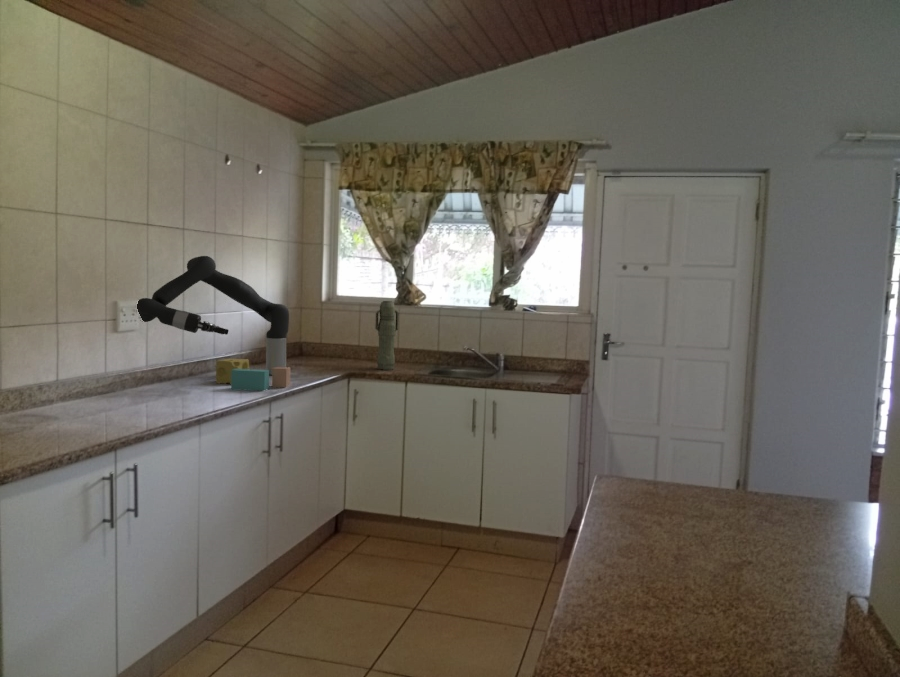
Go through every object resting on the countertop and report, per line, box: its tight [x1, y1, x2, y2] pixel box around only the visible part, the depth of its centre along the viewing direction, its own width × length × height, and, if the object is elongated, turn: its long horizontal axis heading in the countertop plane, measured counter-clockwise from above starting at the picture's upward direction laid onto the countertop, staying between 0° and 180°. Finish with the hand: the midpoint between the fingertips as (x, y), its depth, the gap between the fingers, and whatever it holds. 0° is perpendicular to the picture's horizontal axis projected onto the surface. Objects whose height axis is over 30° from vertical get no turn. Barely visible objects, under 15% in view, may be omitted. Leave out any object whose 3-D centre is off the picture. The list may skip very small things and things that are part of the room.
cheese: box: [215, 358, 250, 385], centre depth 307 cm, size 10×11×10 cm
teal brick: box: [230, 368, 270, 391], centre depth 292 cm, size 5×14×8 cm, turn 84°
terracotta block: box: [271, 366, 291, 388], centre depth 301 cm, size 6×6×8 cm
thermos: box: [374, 300, 399, 371], centre depth 368 cm, size 9×12×35 cm
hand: (226, 332), depth 293 cm, fingers open, 8 cm apart
